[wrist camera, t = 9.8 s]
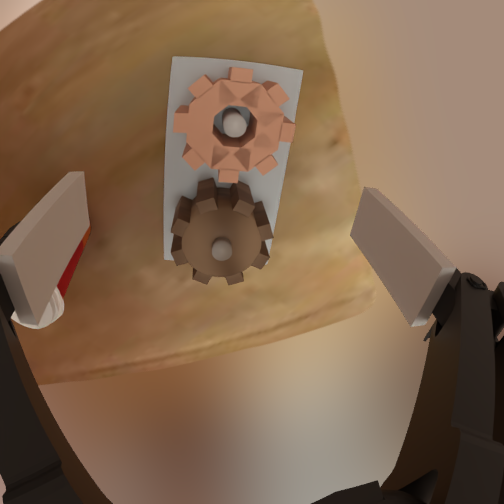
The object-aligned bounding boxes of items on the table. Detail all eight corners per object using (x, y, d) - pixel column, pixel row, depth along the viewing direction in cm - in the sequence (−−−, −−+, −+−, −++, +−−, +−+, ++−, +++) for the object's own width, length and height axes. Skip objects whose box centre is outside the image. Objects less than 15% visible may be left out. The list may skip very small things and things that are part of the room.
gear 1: (176, 161, 29) (170, 179, 25) (184, 64, 24) (179, 63, 20) (273, 168, 31) (284, 187, 27) (289, 75, 26) (304, 77, 21)
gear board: (166, 250, 37) (159, 287, 31) (175, 57, 25) (164, 54, 19) (264, 254, 39) (274, 292, 33) (297, 70, 27) (320, 72, 21)
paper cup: (39, 235, 33) (-11, 311, 22) (52, 185, 30) (-11, 253, 19) (90, 260, 36) (54, 344, 25) (108, 211, 33) (65, 292, 22)
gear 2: (175, 254, 35) (170, 290, 30) (176, 175, 30) (169, 201, 25) (257, 258, 37) (265, 294, 32) (271, 181, 32) (283, 208, 26)
